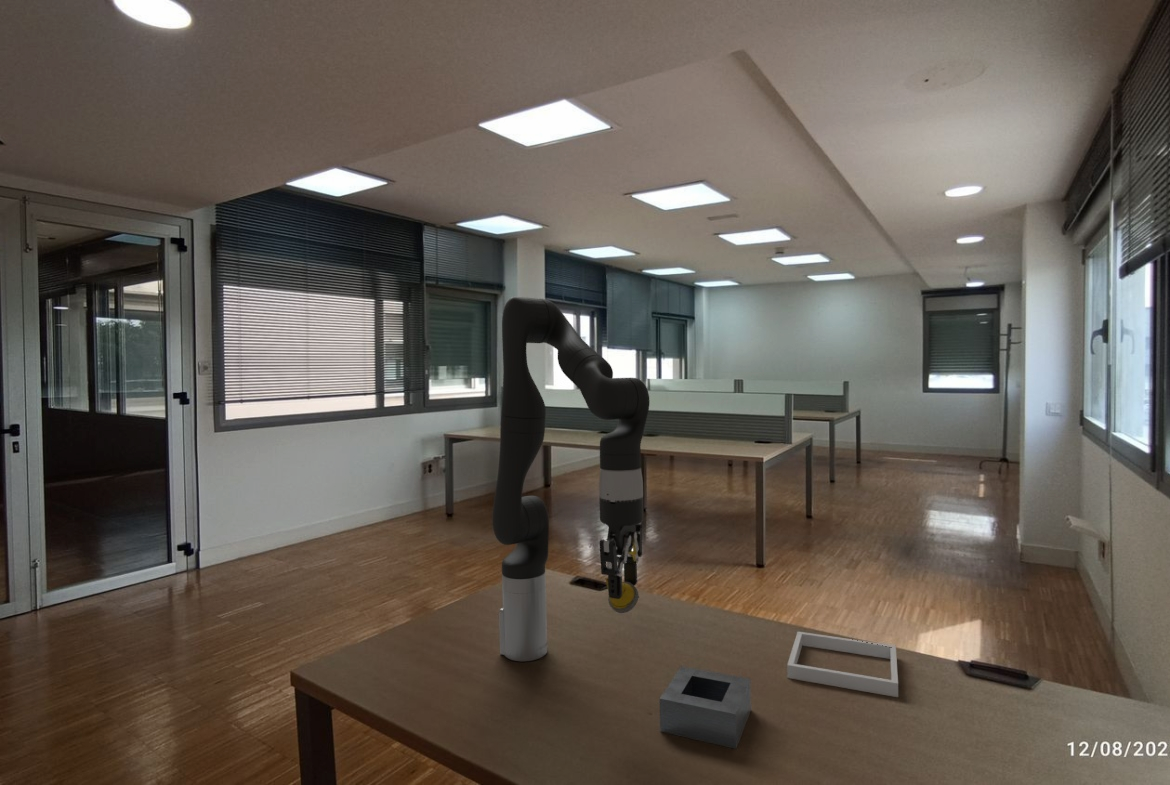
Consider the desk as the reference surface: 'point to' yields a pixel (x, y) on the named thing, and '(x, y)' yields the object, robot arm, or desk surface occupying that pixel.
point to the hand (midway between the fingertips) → (623, 590)
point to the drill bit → (624, 598)
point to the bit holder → (706, 706)
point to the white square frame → (843, 678)
